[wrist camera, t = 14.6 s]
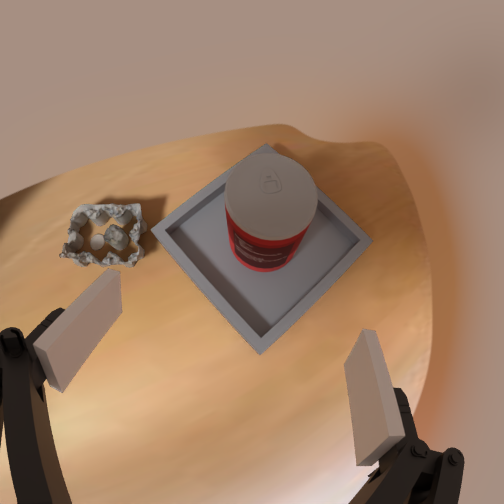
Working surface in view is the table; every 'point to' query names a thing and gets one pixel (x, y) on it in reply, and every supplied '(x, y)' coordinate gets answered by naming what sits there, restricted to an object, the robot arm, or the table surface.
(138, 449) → the table surface
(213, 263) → the tray
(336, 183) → the table surface
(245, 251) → the canned food
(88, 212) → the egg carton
